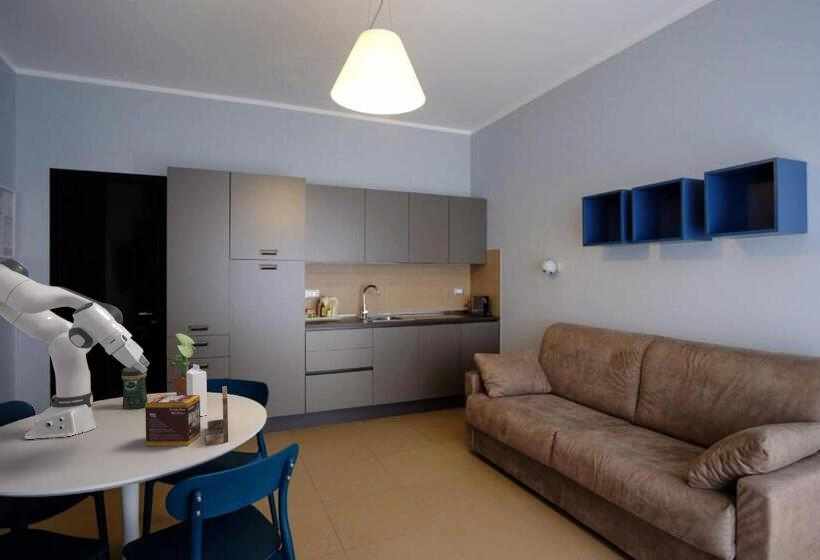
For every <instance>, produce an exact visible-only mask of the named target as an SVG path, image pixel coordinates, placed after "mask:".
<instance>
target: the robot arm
mask: <svg viewBox="0 0 820 560" xmlns="http://www.w3.org/2000/svg"><path fill="white" fill-rule="evenodd" d="M62 307H69V308H71V309H74V310H75V311H74V312H73V313H72V318H73V322H71V321H68V320H67V319H65V318H62V317H61V316H59V315H57V314H56V313H55V312H53V311H51V310H52V309H57V308H62ZM0 317H2V318H3V319H5V320H6V321H7V322H8V323H9V324H11V325H12V326H14V327H16V328H17V329H18V330H20V331H22V332H23V333H25V334H26V335H28V336H29V337H31V338H32V339H35V340H38V341H40V342H43V343H46V344H48V348H47V349H48V351H47V352H48V354H49V356H50V358H51V361H52V366H53V370H54V375H55V389H56V390H55V392H56V394H54V395H53V396H52V397H51V398H50V400H49V404H50V406H49V407H47V409H46V410H44V411H43V412H41V413H40V414H39V415H38V416H37V417H35V418H34V421H33V423H32V426H31V429H30V430H29V431H27V432H26V433H25V434H24V438H42V437H64V436H71V437H73V436H72V435H74V436H76V435H79V434H82V432H83V433H87V432H89V431H91V430H93V429H94V430H95V428H96V427H97V423H96V420H95V417H94V411H93V405H94V403H93V401H94V397H93V396H94V395H93V391H91V385H92V383H91V371H90V369H89V365H88V361H87V356H86V355H87V354H88V353H89V352H90V351H91V350H92V348H93V347H94V346H96V345H97V344H98V343H99V344H100V345H101V346H102V347H103V348H104V351H105V352H106V353H107V354H108V355H109V356H110V355H112V356H113V357H114V358H115V359H116V360H117V361H118V362H120V363H121V364H122V365H123V366H125V368H126V367H128V368H131V367H135V368H136V369H138V370H140V371H141V372H142V373H145V372H146V373H147V371H148V367H149V365H150V362H149V361H148V360H147V358H146V357H145V356H144V354H143V353H144V350H143V348H142V347H141V346H139V344H138V343H137V342H136V341H134V340H133V339H132V337H133V335H132V334H131V333H130V332H129V331H128V330H127V329H126V328H125V326H123V322H124V321H123V320H124V318H123V317H124V316H123V313H122V312H121V310H120V309H119V308H118V307H117V306H114V305H112V304H108V303H103V302H100V301H98V300H97V299H93V298H91V297H89V296H86V295H84V294H82V293H79V292H76V291H74V290H72V289H69V288H66V287H63V286H58V285H57V286H53V285H52V286H51V285H46V284H42V283H39V282H37V281H35V280H33V279H31V278H30V273H29V270H28V269H27V268H26V266H24V264H23V263H21V262H20V261H17V260H15V259H11V258H6V259H3V260H1V261H0ZM78 433H79V434H78ZM75 434H76V435H75ZM64 438H65V437H64Z"/></svg>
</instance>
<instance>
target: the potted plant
mask: <svg viewBox="0 0 820 560" xmlns="http://www.w3.org/2000/svg"><path fill="white" fill-rule="evenodd" d="M175 336H176V338H178V339H177V340H179V342H180V343H181V345H179V344H177V348H178V350H179V352H180V354H175V355H174V356H173V359H172V360H173V361H171V362H170V366H171V368H174V367H175V365H176V366H177V367H178V368H179V370H180V371H181V374H177V375H173V376H172V385H174V387H175V393H176V394H175V395H187V376H186V372H187V371H189V365H190V363H191V361H188V358H191V357H192V356H193V355H195V353H194V350H196V347H195V346H194V344H195V341H194V340H193V338H192V337H190V336H188V335H186V334H183V333H181V332H180V333H175Z"/></svg>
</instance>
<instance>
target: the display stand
mask: <svg viewBox="0 0 820 560" xmlns="http://www.w3.org/2000/svg"><path fill="white" fill-rule="evenodd" d="M221 387H222V389H221V390H222V418H221V419H214V420H213V419H212V420H207V422H206V423H207V430H214V429H213V428H215V429H222V431H223V432H222V433H217V434H207V435H206V436H205V439H206V440H205V442H206V443H205V444H206V446H209V445H216V444H217V445H218V444H223V443H224V444H225V443H229V412H228V409H229V408H228V407H229V406H228V403H229V402H228V387H227V385H225V386H221ZM221 427H223V428H221Z"/></svg>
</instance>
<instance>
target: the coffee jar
mask: <svg viewBox="0 0 820 560" xmlns="http://www.w3.org/2000/svg"><path fill="white" fill-rule="evenodd" d="M147 376H148V375H147V371H146V372H145V373H142V372H141V371H140V370H138V369H136V368H135V367H134V366H133V367H131V368H128V367H126V366H125V367H124V368H122V370H121V380H122V381H123V382H122V383H123V385H122V386H123V388H122V389H123V393H122V408H123V409H126V410H127V409H128V410H135V409H141V408H144V407H145V403H147V402H149V400H148V396H147V395H148V394H147V388H146V377H147Z"/></svg>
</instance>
